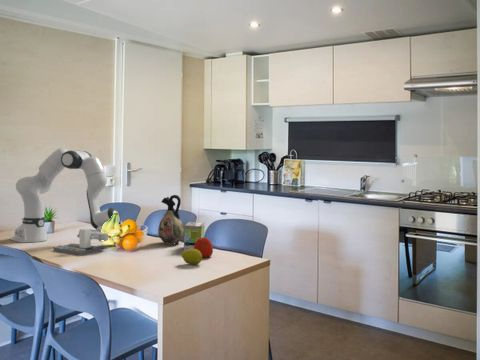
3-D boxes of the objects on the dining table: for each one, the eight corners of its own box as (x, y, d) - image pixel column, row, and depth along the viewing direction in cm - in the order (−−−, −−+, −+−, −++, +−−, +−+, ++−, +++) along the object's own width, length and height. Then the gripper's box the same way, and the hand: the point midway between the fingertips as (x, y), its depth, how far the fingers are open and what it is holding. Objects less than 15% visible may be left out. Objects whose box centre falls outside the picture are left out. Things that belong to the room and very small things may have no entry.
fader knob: (77, 248, 245) (77, 229, 245) (84, 246, 250) (84, 227, 249) (85, 249, 242) (85, 230, 242) (92, 247, 247) (92, 228, 246)
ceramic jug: (153, 244, 271) (153, 194, 269) (164, 240, 286) (165, 193, 284) (179, 247, 266) (180, 196, 264) (189, 242, 281) (190, 194, 279)
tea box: (201, 252, 253) (201, 225, 253) (183, 251, 254) (183, 225, 253) (204, 246, 269) (204, 222, 268) (187, 246, 269) (187, 221, 268)
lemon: (205, 264, 225) (205, 248, 224) (197, 267, 218) (197, 251, 217) (186, 261, 229) (187, 246, 229) (178, 265, 222) (178, 248, 222)
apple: (195, 259, 235) (195, 239, 235) (191, 255, 245) (192, 235, 245) (214, 258, 238) (214, 238, 238) (210, 254, 248) (210, 235, 248)
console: (53, 251, 248) (53, 246, 247) (73, 246, 260) (73, 242, 260) (81, 255, 238) (81, 250, 238) (100, 251, 250) (100, 246, 250)
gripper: (89, 226, 262) (70, 229, 250) (116, 229, 253) (98, 232, 240) (89, 237, 262) (70, 240, 250) (116, 240, 253) (98, 244, 241)
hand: (84, 236), depth 245 cm, fingers open, 8 cm apart
